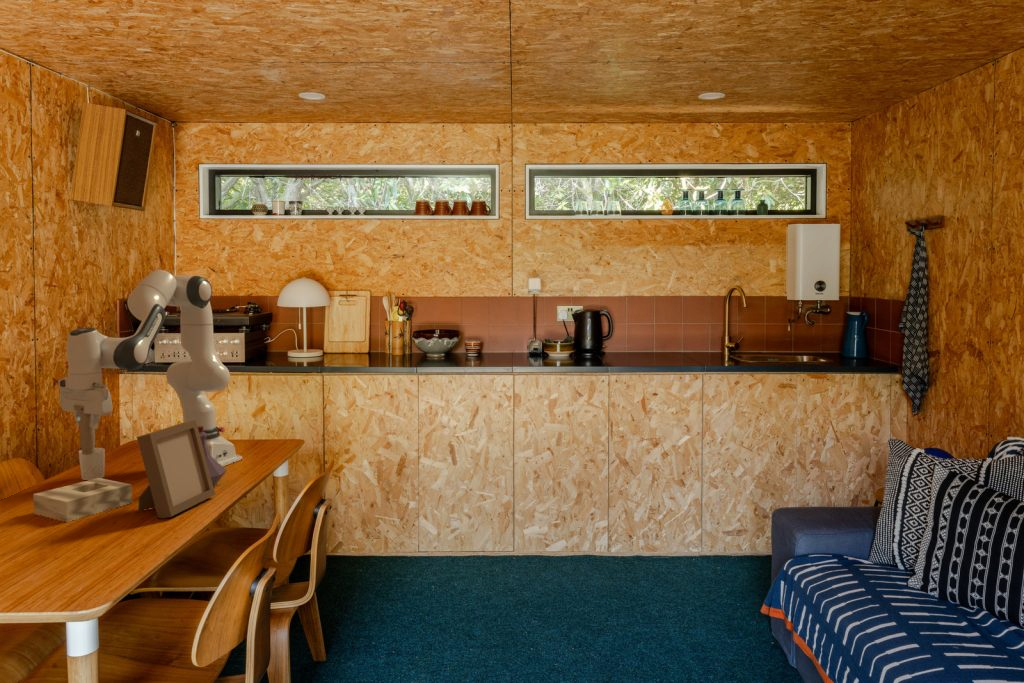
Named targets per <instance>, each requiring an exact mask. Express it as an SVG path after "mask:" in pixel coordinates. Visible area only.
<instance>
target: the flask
mask: <svg viewBox="0 0 1024 683" xmlns="http://www.w3.org/2000/svg"><path fill="white" fill-rule="evenodd" d="M203 428H204V427H203V426H198V430H199V434H200V438H201V442H202V445H203V449H204V453H205V457H206V461H207V465H208V468H209V472H210V476H211V480H212V484H213V487H214V486H216V485H217V484H218V483H219V482H220V480H221V479H222V477H223V476H224V475H225V474H226V472H227V471H228V470H227V469H226V468H225V466H223V467H222V466H221V465H220V464H219V463H218V462H217V461H216V460H215V459H214V458H213V457H212V456H211V455H210V453H209V450H208V447H207V445H206V438H207V435H208V434H206V433H205V432H203ZM216 483H217V484H216Z"/></svg>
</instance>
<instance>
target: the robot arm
mask: <svg viewBox="0 0 1024 683" xmlns="http://www.w3.org/2000/svg"><path fill="white" fill-rule="evenodd" d="M212 296H213V288H212V284H211V283H210V281H209V280H208V279H207V278H206V277H203V276H201V275H199V276H198V275H182V274H178V275H173V274H172V273H170V272H169V271H167V270H164V269H156V270H153V271H152V272H150V273H149V274H148V275H146V276H145V277H144V278H143V279H142V280H141V281H139V283H138V284H137V285H136V286H135V288H133V289H132V291H131V292H130V294H129V295H128V298H127V308H128V310H129V311H130V313H131V314H132V315H133V316H134V318H136V319H137V320H139V321H140V324H139V326H138V328H137V330H135V333H134V334H133V335H130V336H127V337H110V336H108V335H104V334H102V333H100V332H99V331H98V329H97V328H95V327H82V328H81V327H80V328H77V329H73V330H71V331H70V332H69V333H68V336H67V339H66V360H67V363H68V369H67V376H66V377H64V378H61V379H59V380H58V381H57V384H58V387H59V388H60V389H59V404H60V408H61V409H62V411H63V412H64V411H65V412H66V411H67V412H72V413H73V417H74V420H75V422H76V427H79V428H80V413H79V412H77V411H75V410H74V405H77V406H84V412H83V413H86V414H91V418H92V420H91V423H89V428H91V429H94V430H95V429H98V428H99V422H100V419H101V416H102V417H103V416H109V415H112V413H113V410H114V409H113V403H112V401H113V400H112V396H111V392H110V390H109V388H108V387H107V386H106V385H105V384H104V383H103V374H102V373H103V371H102V368H103V369H117V370H125V371H136V370H137V371H138V370H139V369H140V368H142V367H143V366H144V365H145V364H146V362H147V360H148V358H149V354H150V351H151V348H152V345H153V344H154V342H155V340H156V338H157V336H158V334H159V332H160V330H161V328H162V327H163V325H164V322H165V319H166V311H165V308H166V307H167V306H169V307H177V308H180V345H181V348H183V349H184V350H185V352H187V353H188V355H189V357H190V359H191V360H181V361H177V362H174V363H171V365H170V366H168V368H167V371H166V374H165V375H166V376H165V378H166V381H167V383H168V385H169V386H170V387H171V388H172V389H173V390H174V391H175V393H176V395H177V397H178V400H179V402H180V405H181V409H182V423H184V422H189V421H193V420H196V422H197V426H203V427H204V428H203V432H205V433H206V434H208V435H207V438H206V445H207V447H208V450H209V453H210V455H211V456H212V457H213V458H214V459H215V460H216V461H217V462H218V463H219V464H220V465H221V466H222V467H225V466H227V465H231V464H234V463H237V462H238V461H241V459H242V460H243V456H242V455H240V454H236V448H235V445H234V444H233V443H232V442H231V441H229V440H228V439H226V438H224V437H223V436H222V435H221V433H225V431H226V427H225V426H219V427H218V426H217V424H216V422H217V421H216V419H217V418H216V407H215V405H214V403H213V402H211V401H210V399H209V398H208V396H207V394H206V393H214V392H221V391H224V390H225V389H227V387H228V386H229V384H230V381H231V373H230V370H229V369H228V368H227V366H226V365H224V364H223V363H222V361H221V359H220V357H219V355H218V353H217V350H216V347H215V340H214V338H215V337H214V316H213V310H212V306H211V299H212ZM233 462H234V463H233Z"/></svg>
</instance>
